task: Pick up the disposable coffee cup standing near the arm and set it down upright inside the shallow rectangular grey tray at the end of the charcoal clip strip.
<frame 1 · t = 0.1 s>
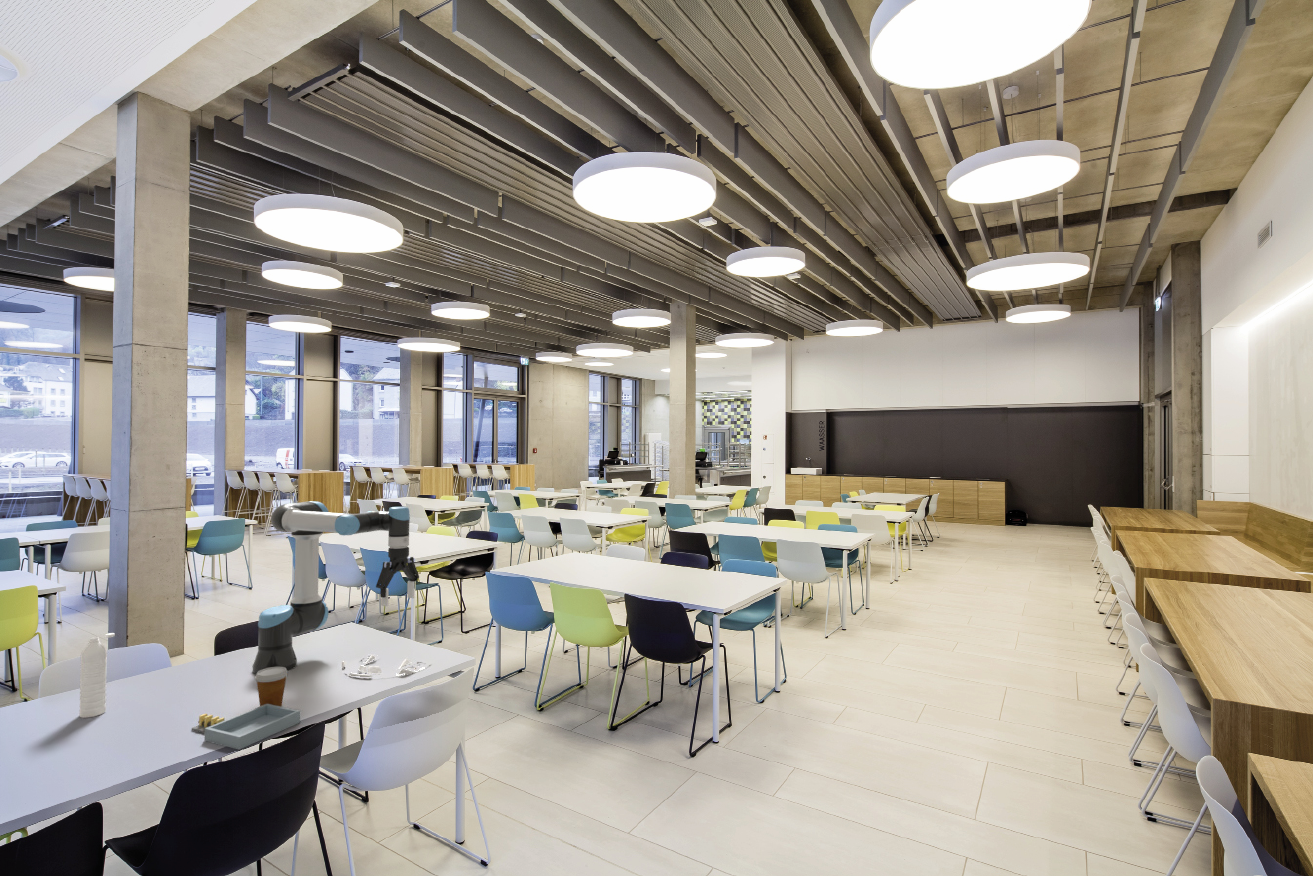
hand: (398, 601, 247), 28 cm above the table, fingers open, 13 cm apart
cable organizer: (380, 669, 254), on the table
disposable coffee cup: (271, 707, 215), on the table
water bottle: (96, 713, 209), on the table
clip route: (212, 729, 198), on the table
shallow rectangular grey tray: (253, 731, 197), on the table
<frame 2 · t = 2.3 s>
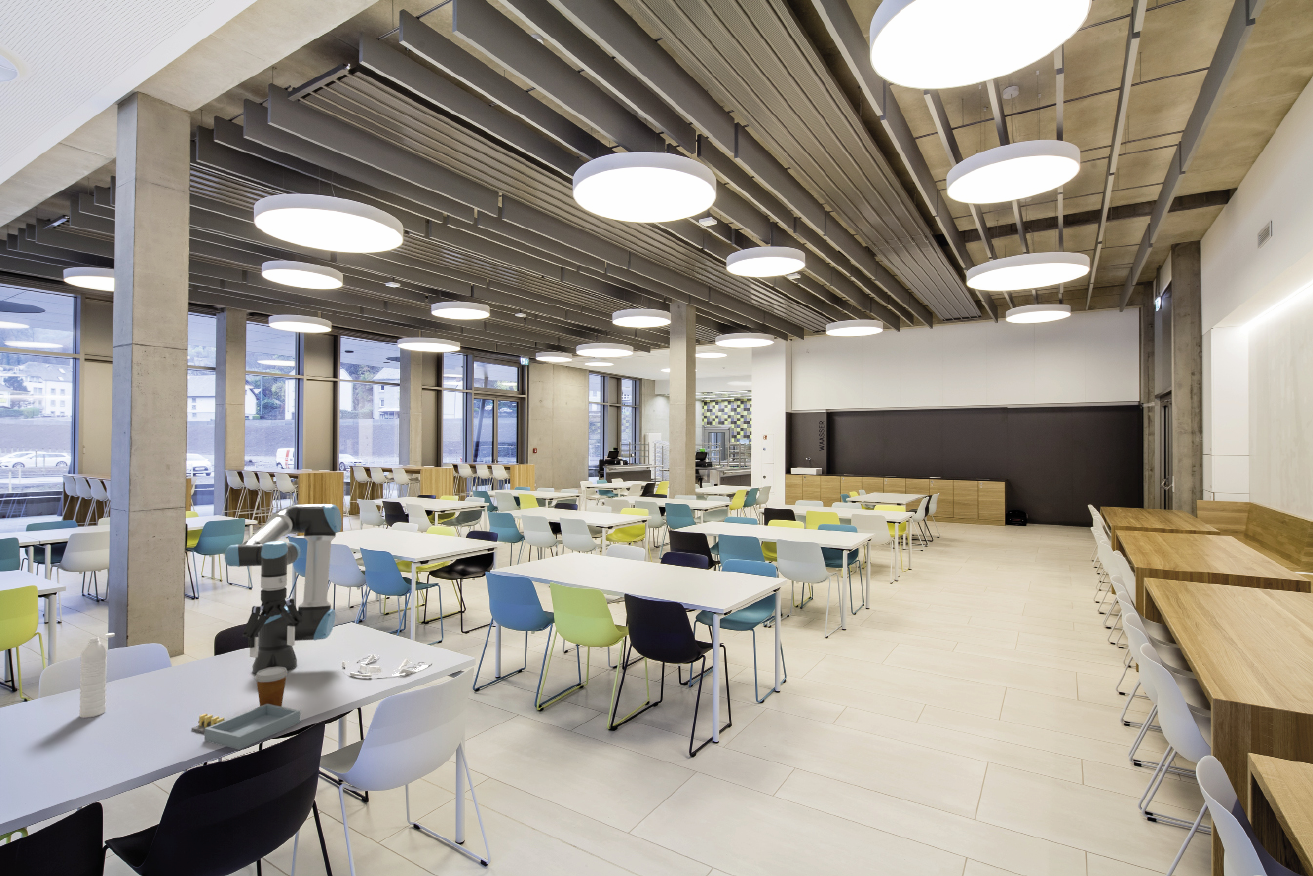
hand: (272, 651, 216), 19 cm above the table, fingers open, 13 cm apart
nothing on the table moved.
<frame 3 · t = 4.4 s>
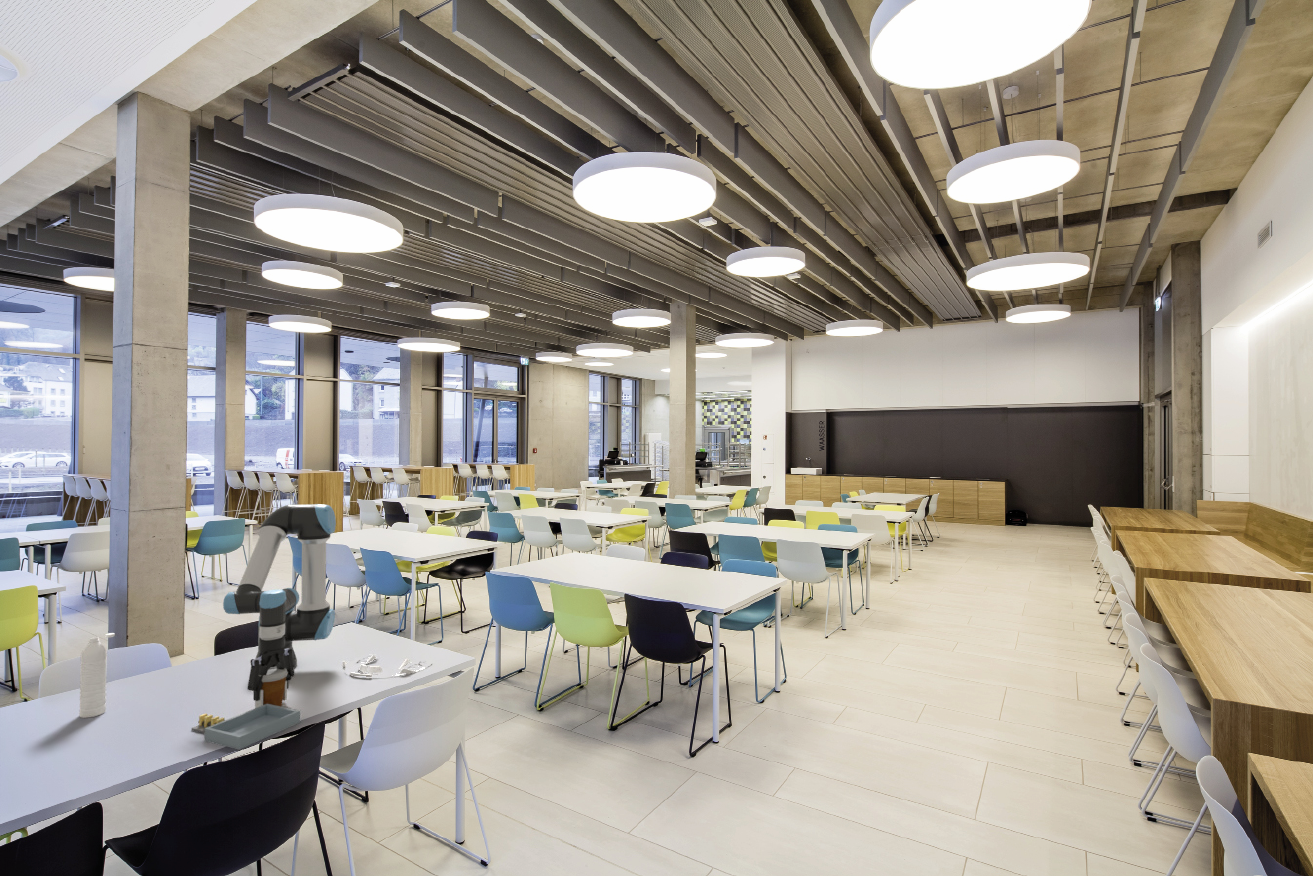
hand: (271, 704, 215), 1 cm above the table, fingers closed on disposable coffee cup, 8 cm apart
disposable coffee cup: (271, 707, 215), on the table, touching gripper
everything else where it was.
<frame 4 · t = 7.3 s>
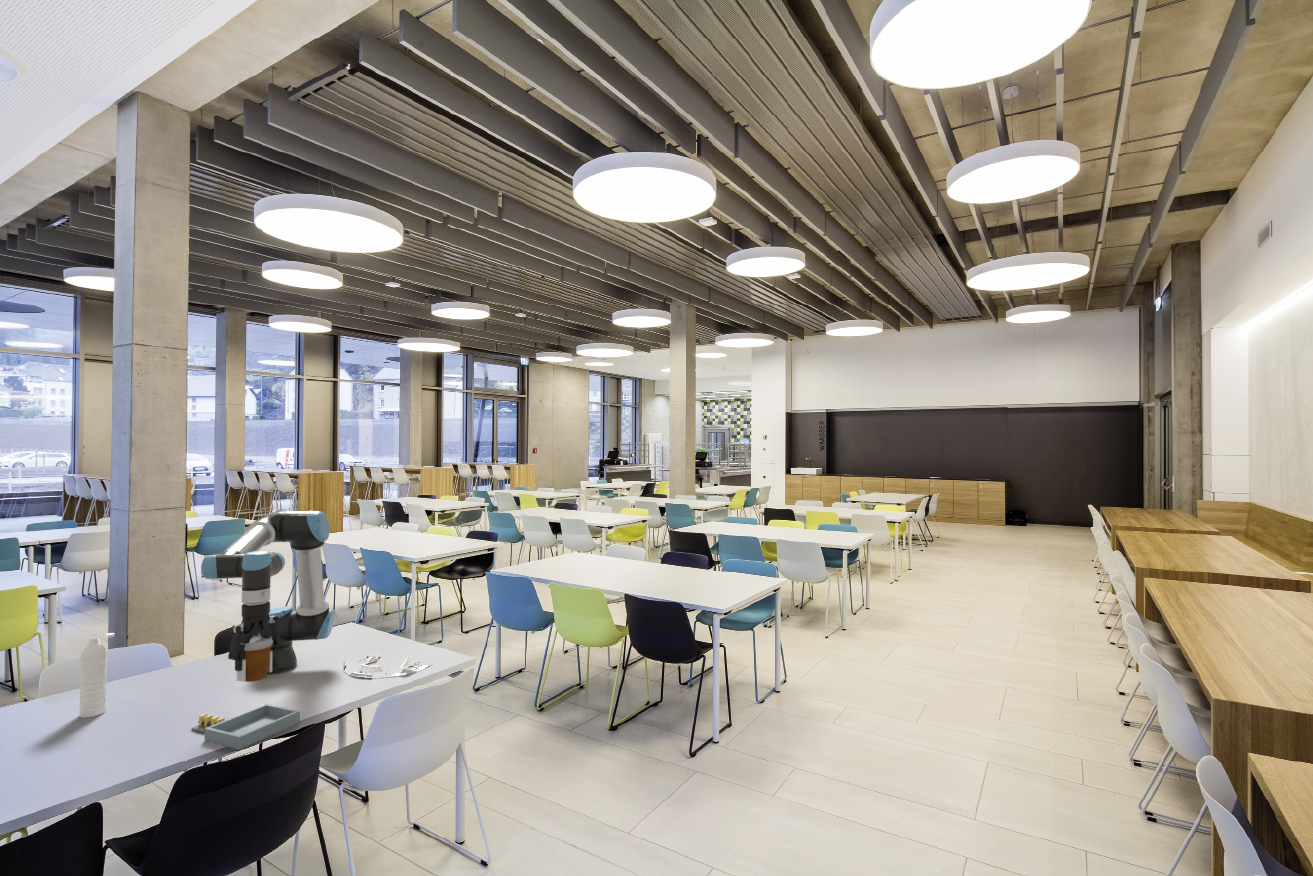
hand: (254, 675, 197), 17 cm above the table, fingers closed on disposable coffee cup, 8 cm apart
disposable coffee cup: (254, 679, 197), point 16 cm above the table, touching gripper
everything else where it was.
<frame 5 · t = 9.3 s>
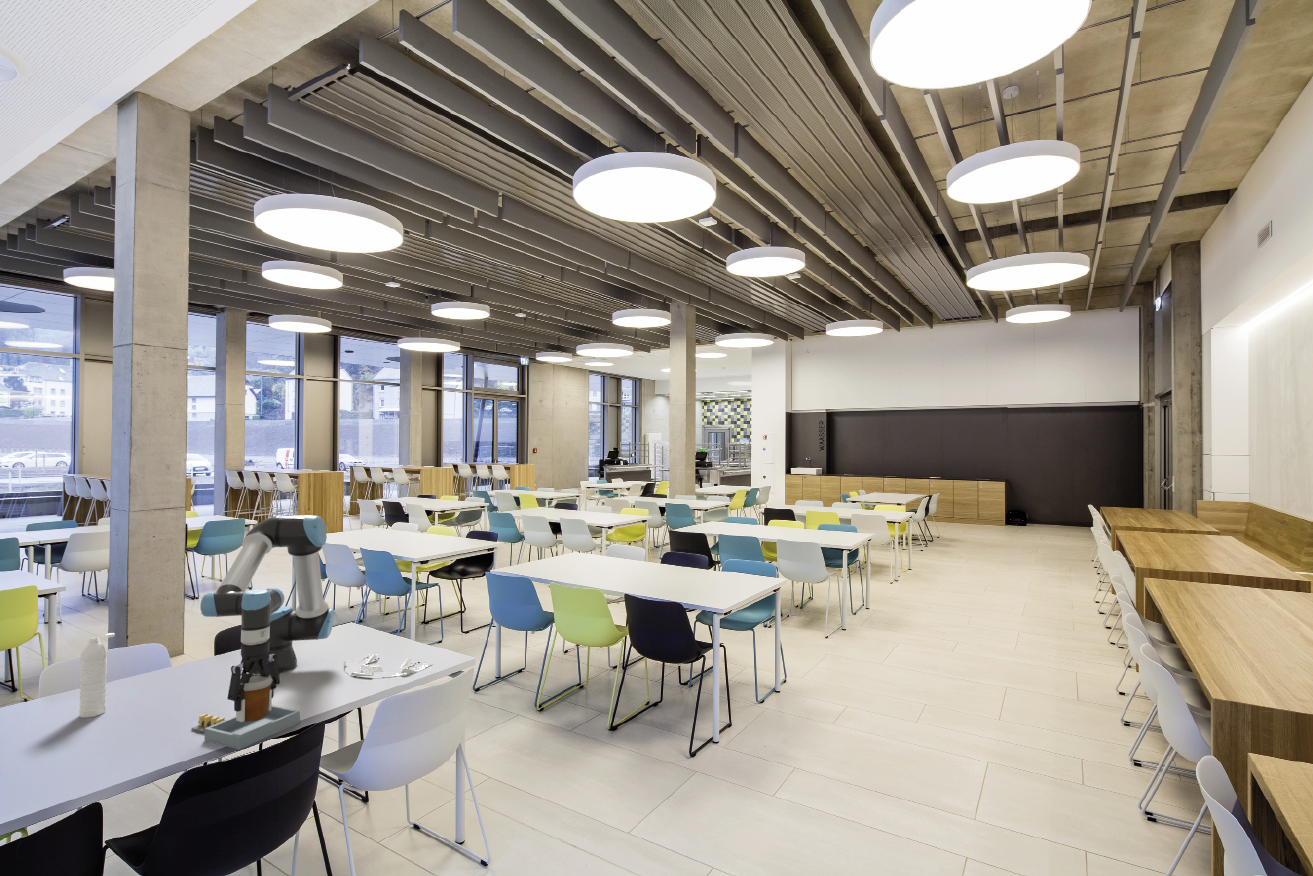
hand: (254, 715, 197), 5 cm above the table, fingers closed on disposable coffee cup, 8 cm apart
disposable coffee cup: (254, 718, 197), point 4 cm above the table, touching gripper
everything else where it was.
when the fingers open (3 cm above the table, at t = 10.2 s): disposable coffee cup drops 1 cm, point 1 cm above the table.
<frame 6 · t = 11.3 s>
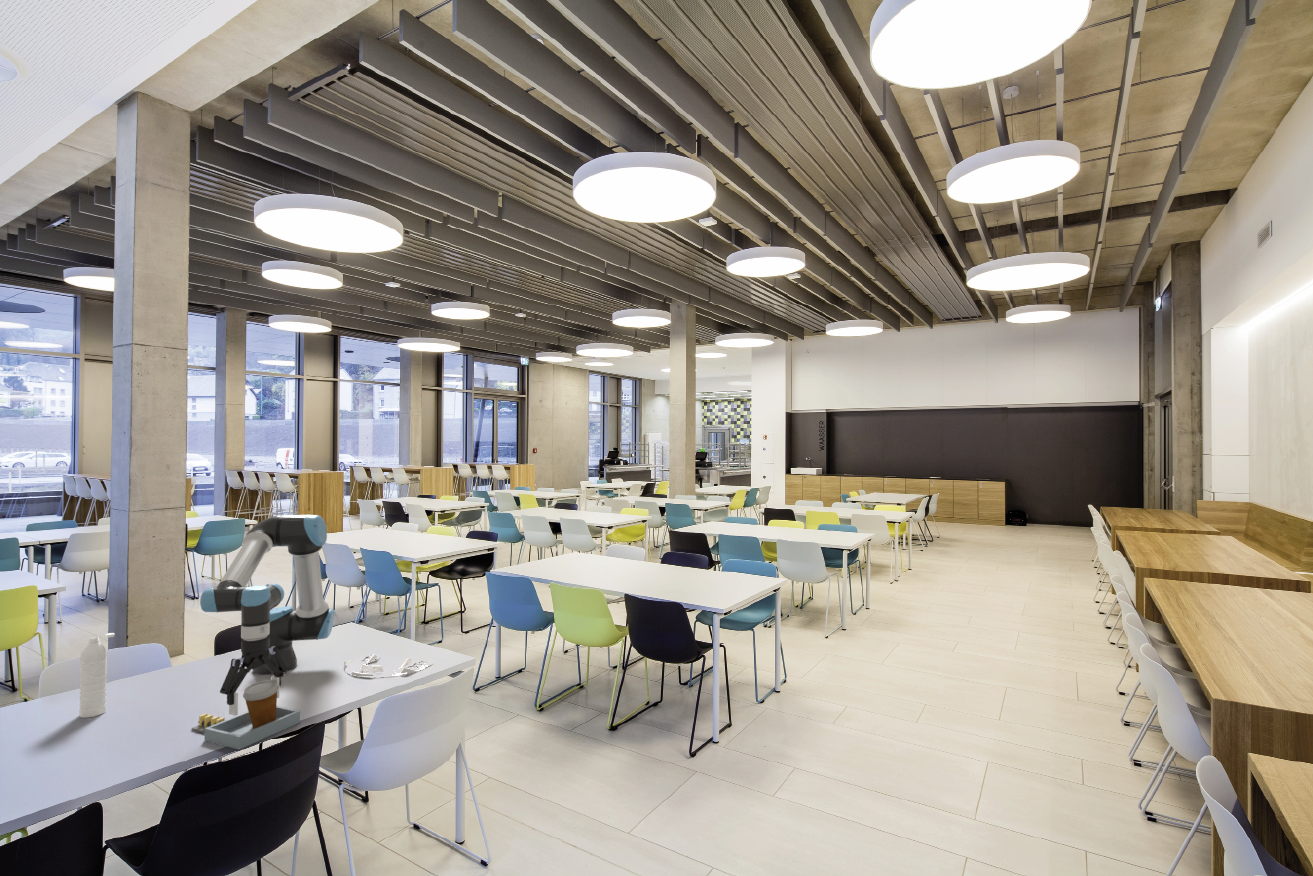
hand: (254, 705, 198), 8 cm above the table, fingers open, 13 cm apart
disposable coffee cup: (264, 724, 200), point 1 cm above the table
everything else where it was.
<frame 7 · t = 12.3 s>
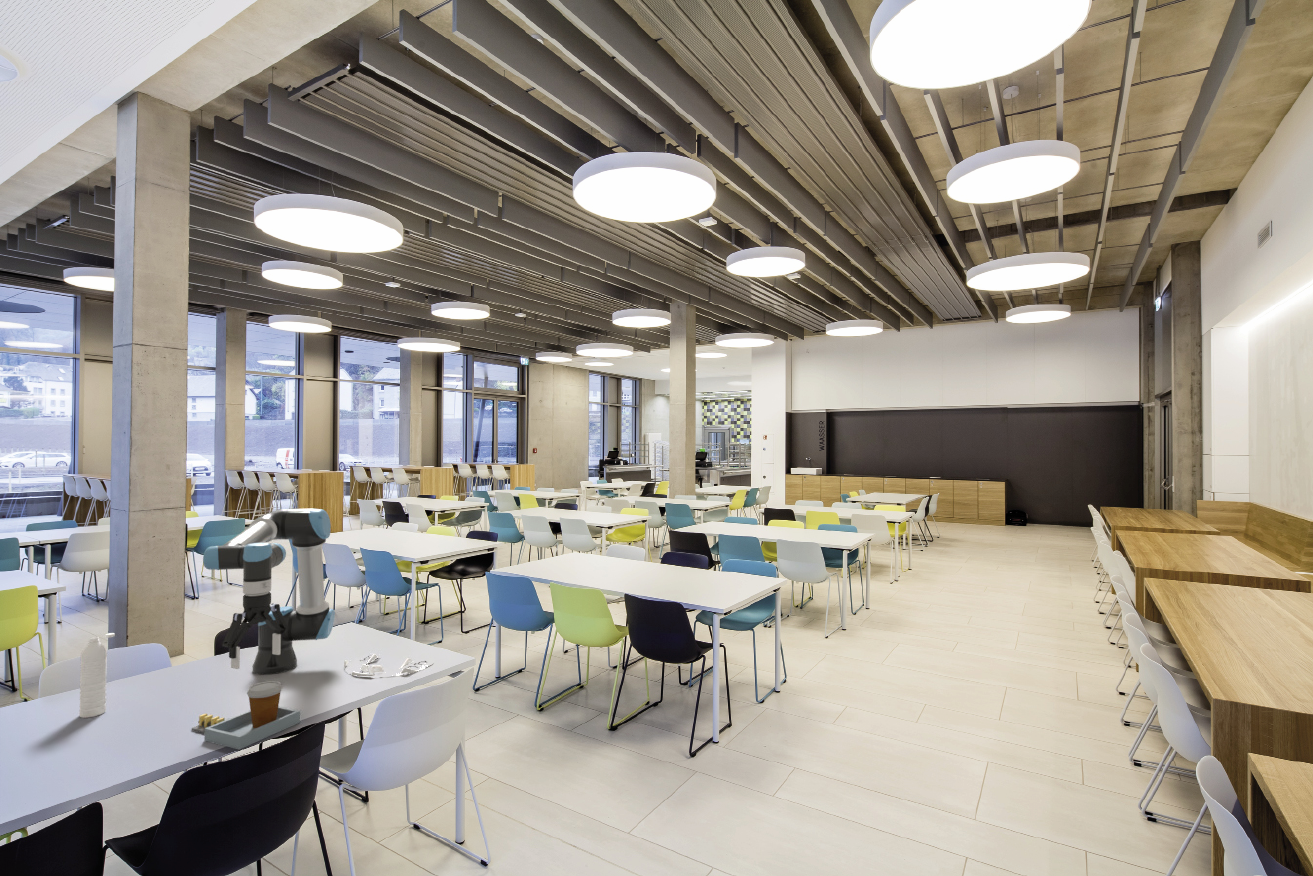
hand: (256, 661, 200), 21 cm above the table, fingers open, 13 cm apart
disposable coffee cup: (264, 725, 200), resting on shallow rectangular grey tray
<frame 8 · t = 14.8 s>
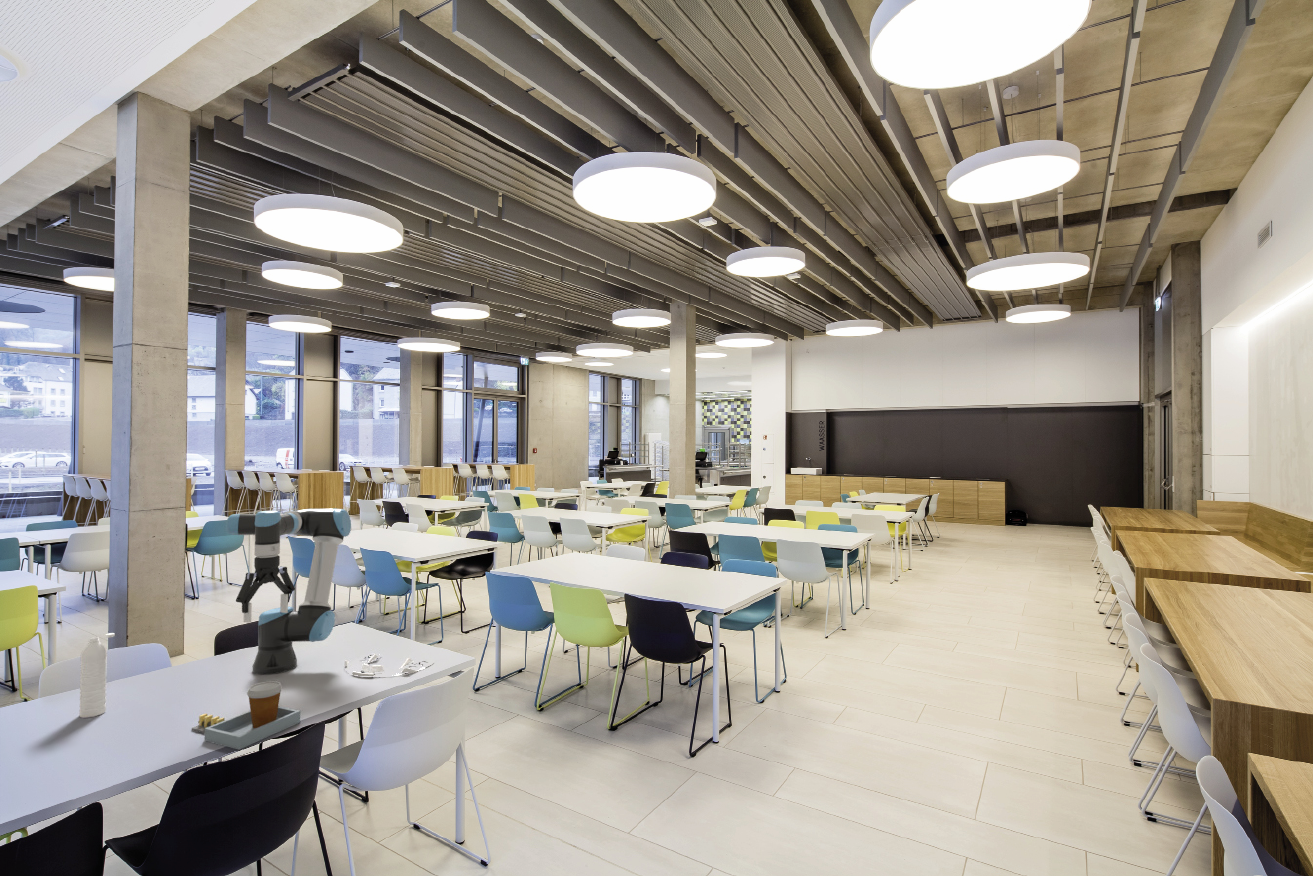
hand: (266, 617, 221), 29 cm above the table, fingers open, 13 cm apart
at the end: disposable coffee cup 3.5 cm from the shallow rectangular grey tray (horizontally); disposable coffee cup tilted 0°; the gripper is holding nothing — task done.
